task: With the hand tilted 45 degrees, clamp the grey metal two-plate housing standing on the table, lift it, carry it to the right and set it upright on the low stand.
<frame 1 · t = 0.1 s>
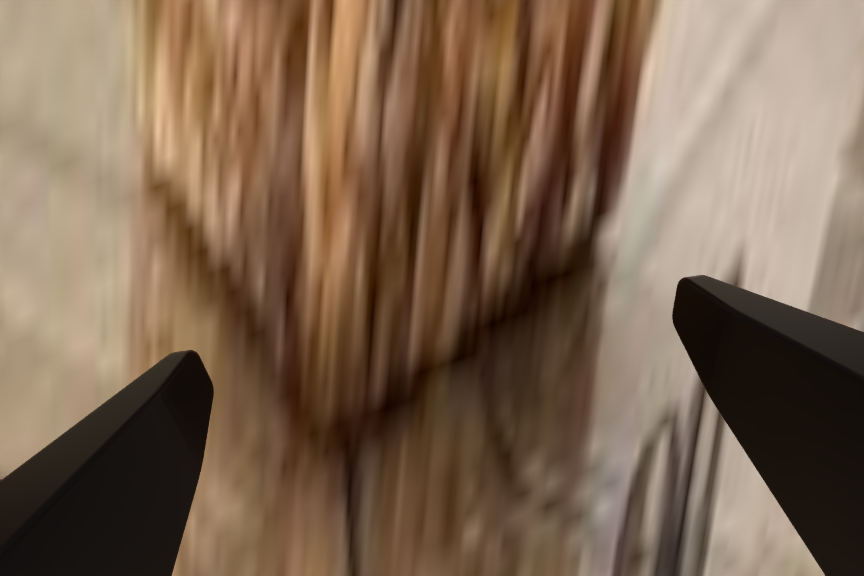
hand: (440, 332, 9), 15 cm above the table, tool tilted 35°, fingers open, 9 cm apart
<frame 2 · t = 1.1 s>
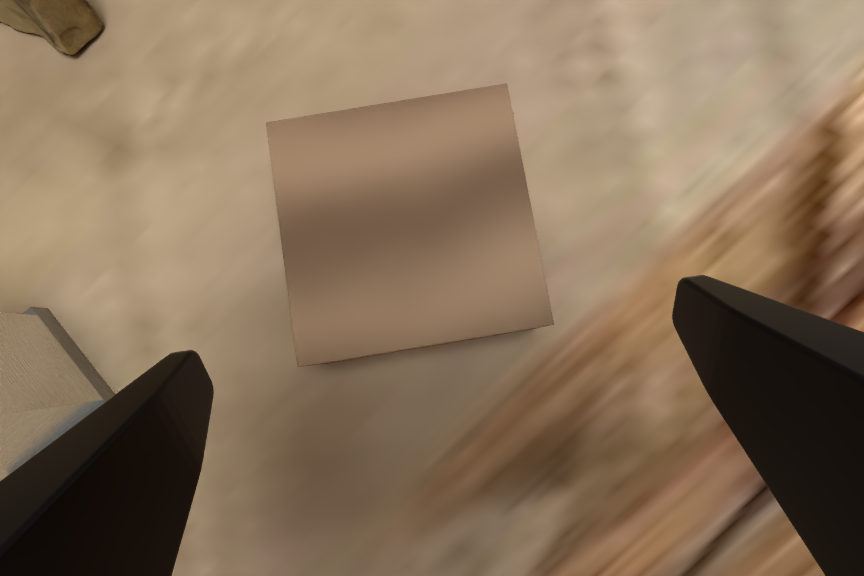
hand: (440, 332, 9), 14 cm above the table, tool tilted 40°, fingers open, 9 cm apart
housing: (42, 392, 23), on the table
stand: (411, 241, 24), on the table
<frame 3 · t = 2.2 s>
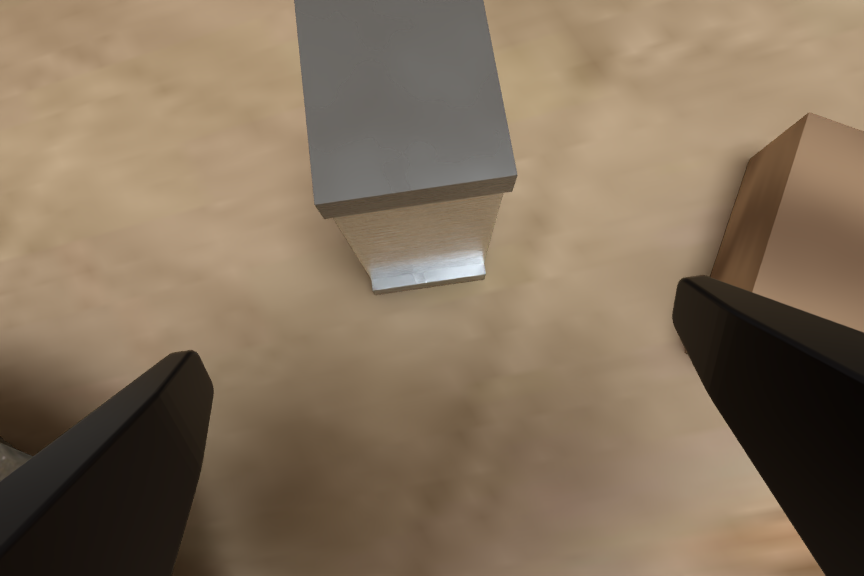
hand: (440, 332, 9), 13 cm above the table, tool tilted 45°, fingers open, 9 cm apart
housing: (421, 225, 24), on the table
stand: (828, 294, 22), on the table
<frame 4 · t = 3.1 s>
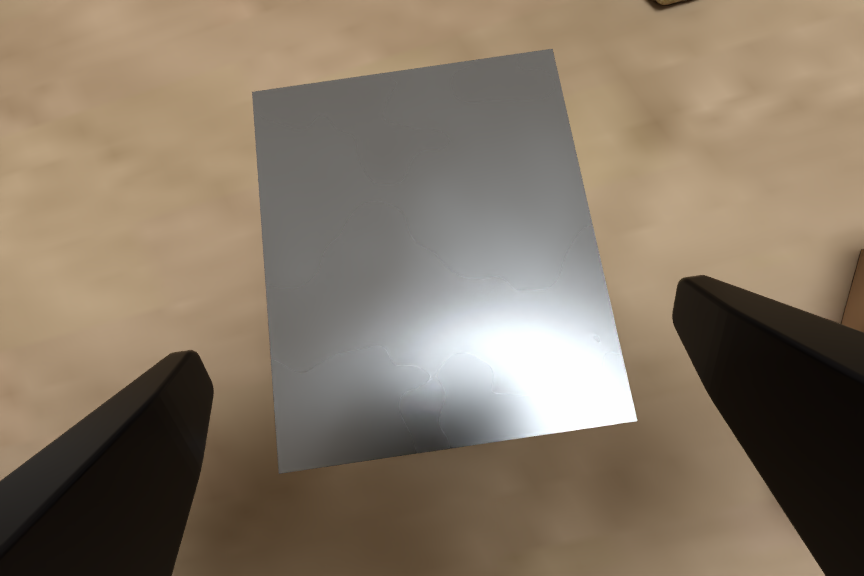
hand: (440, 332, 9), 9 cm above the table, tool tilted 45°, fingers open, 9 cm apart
housing: (438, 336, 18), on the table
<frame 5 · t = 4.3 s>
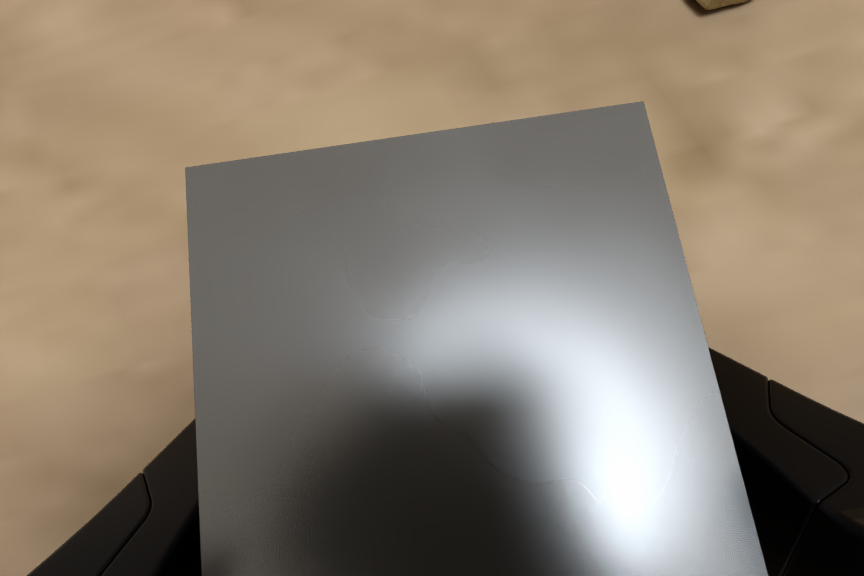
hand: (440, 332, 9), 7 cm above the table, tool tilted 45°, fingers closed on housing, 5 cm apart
housing: (449, 404, 16), on the table, touching gripper
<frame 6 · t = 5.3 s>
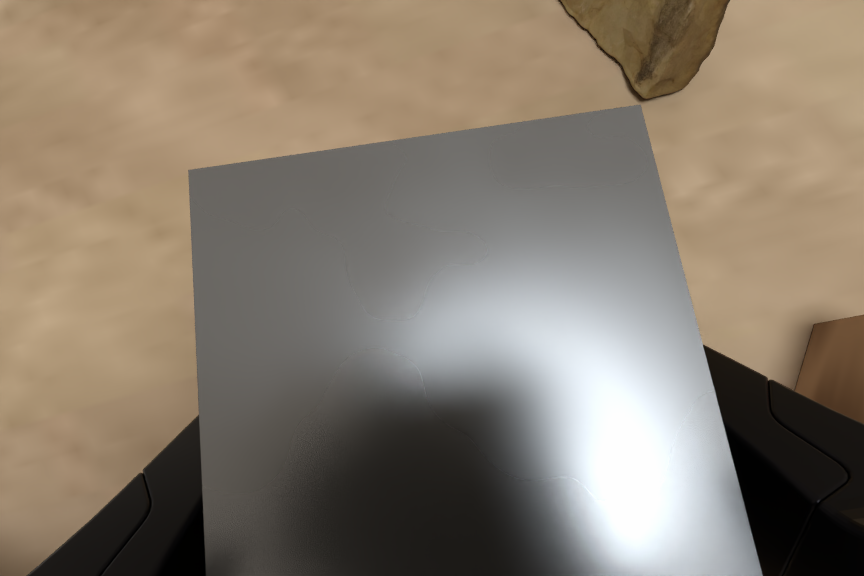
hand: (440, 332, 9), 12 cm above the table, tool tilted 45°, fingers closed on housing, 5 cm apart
housing: (448, 402, 16), point 6 cm above the table, touching gripper
rock: (606, 14, 25), on the table
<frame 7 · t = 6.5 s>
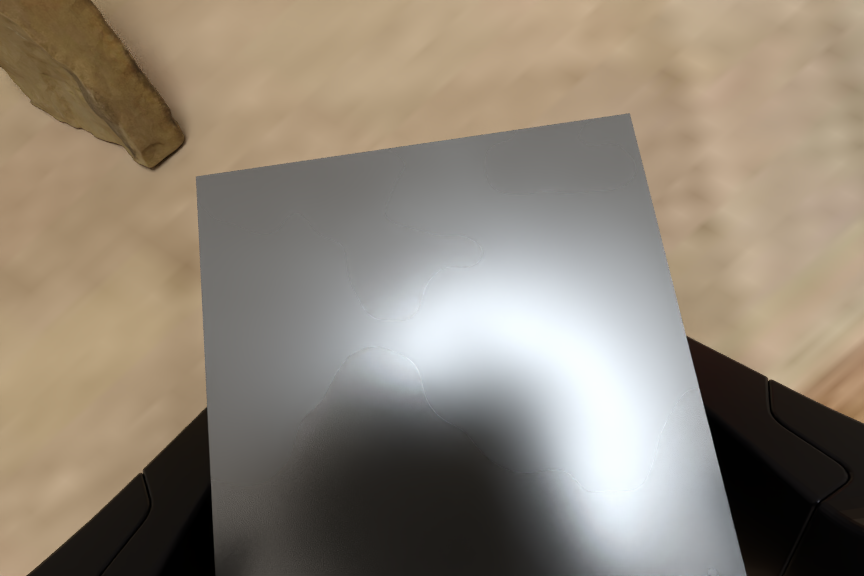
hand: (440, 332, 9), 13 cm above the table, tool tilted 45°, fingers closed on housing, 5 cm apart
housing: (447, 401, 16), point 6 cm above the table, touching gripper
rock: (99, 103, 26), on the table
when the fingers open (12 cm above the table, at t = 7.4 s): housing stays where it is, resting on stand.
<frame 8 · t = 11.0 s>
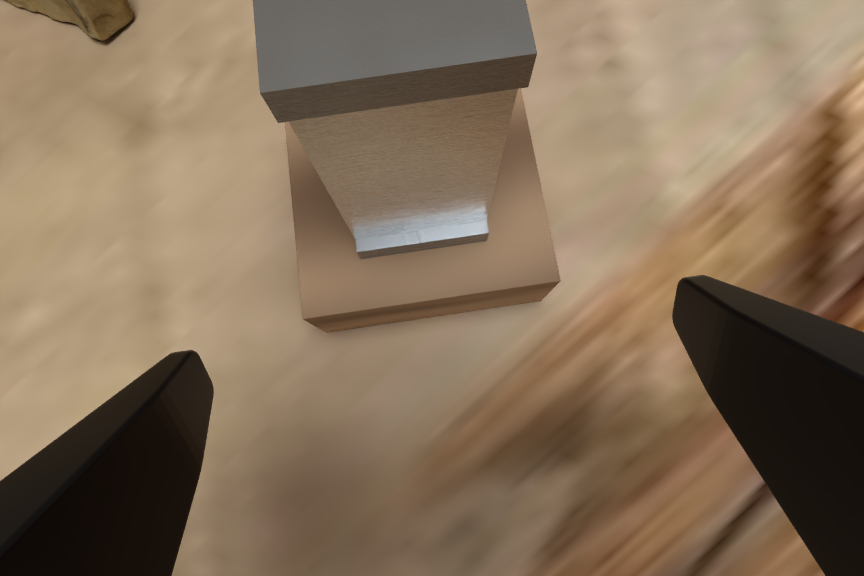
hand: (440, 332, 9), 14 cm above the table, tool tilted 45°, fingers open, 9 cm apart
housing: (413, 179, 20), point 4 cm above the table, touching stand
stand: (419, 215, 24), on the table
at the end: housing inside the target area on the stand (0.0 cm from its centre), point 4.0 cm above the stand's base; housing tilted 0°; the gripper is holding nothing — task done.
